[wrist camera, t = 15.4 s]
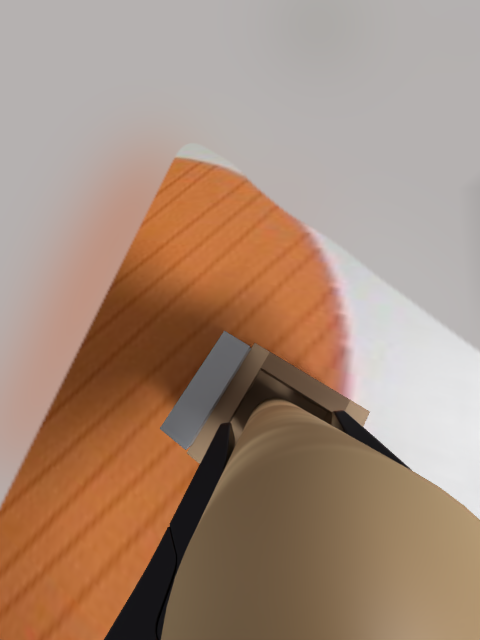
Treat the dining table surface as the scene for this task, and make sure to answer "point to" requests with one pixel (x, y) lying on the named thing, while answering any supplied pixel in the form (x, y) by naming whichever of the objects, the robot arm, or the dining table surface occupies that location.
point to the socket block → (270, 396)
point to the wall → (205, 390)
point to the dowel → (324, 544)
